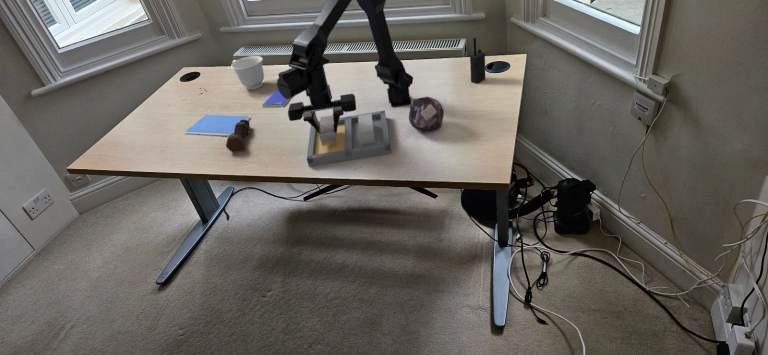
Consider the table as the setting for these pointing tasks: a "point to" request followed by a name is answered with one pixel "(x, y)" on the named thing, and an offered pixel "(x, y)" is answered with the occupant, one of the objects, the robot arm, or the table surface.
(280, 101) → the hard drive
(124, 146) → the table surface
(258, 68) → the teacup
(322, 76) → the robot arm
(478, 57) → the walkie-talkie
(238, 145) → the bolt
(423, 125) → the mineral specimen
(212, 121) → the light blue book
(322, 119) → the block
